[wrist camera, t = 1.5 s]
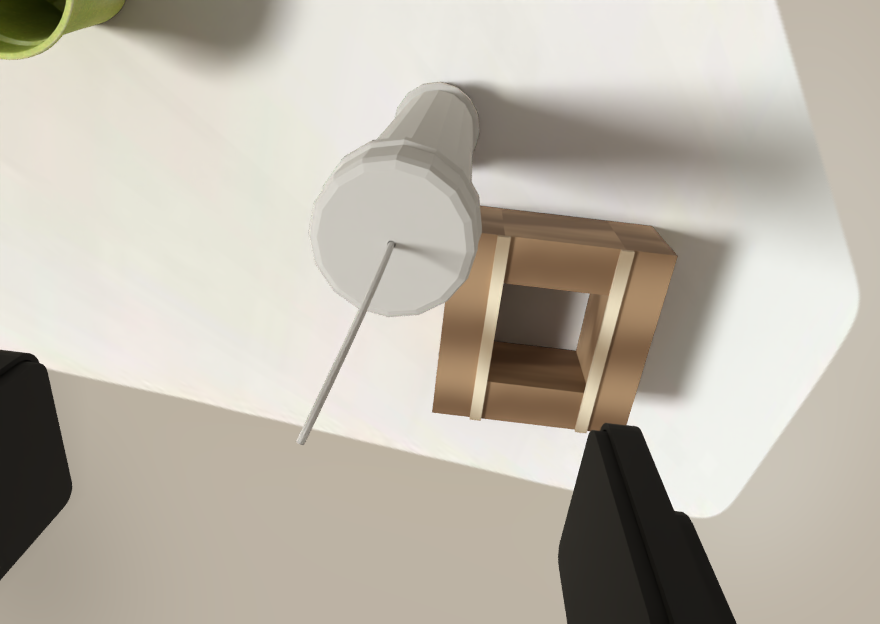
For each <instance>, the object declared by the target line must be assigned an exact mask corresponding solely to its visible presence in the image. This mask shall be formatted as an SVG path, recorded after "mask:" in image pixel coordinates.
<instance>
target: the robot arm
mask: <svg viewBox="0 0 880 624" xmlns="http://www.w3.org/2000/svg"><path fill="white" fill-rule="evenodd" d="M71 491H72V481H71V476H70V472H69V467H68V463H67V458H66V454H65V449H64V445H63V440H62V436H61V431H60V426H59V422H58V418H57V413H56V408H55V404H54V399H53V395H52V391H51V386H50V381H49V377H48V372H47V369H46V367H45V366H44V365H43V364H40V363H39V361H38V359H37V358H36V357H35V356H34V355H32V354H30V353H22V352H14V351H6V350H0V580H1V579H2V578H3V576H4V575H5V574H6V573H7V572H8V571H9V569H10V568H11V567H12V566H13V565H14V564H15V562H17V560H18V559H19V558H20V557H21V556H22V555H23V553H24V552H25V551H26V550H27V549H28V548H29V547H30V545H31V544H32V543H33V542H34V541H35V540H36V538H37V537H38V536H39V535H40V534H41V533H42V532H43V530H44V529H45V528H46V527H47V526H48V525H49V524H50V523H51V521H52V520H53V519H54V518H55V517H56V516H57V515H58V513H59V512H60V511H61V510H62V509H63V508H64V506H65V505H66V504H67V502H68V500H69V498H70V495H71ZM558 563H559V571H560V578H561V585H562V591H563V598H564V604H565V611H566V617H567V624H736V621H735V619H734V617H733V614H732V612H731V610H730V608H729V605H728V603H727V601H726V598H725V596H724V594H723V592H722V589H721V587H720V585H719V582H718V580H717V578H716V576H715V573H714V571H713V569H712V566H711V564H710V562H709V560H708V557H707V555H706V553H705V551H704V548H703V546H702V544H701V541H700V539H699V537H698V535H697V532H696V530H695V528H694V525H693V523H692V522H691V520H690V518H689V517H688V516H687V515H686V514H685V513H684V512H678V511H674V509H673V507H672V504H671V502H670V500H669V497H668V495H667V492H666V490H665V487H664V485H663V483H662V480H661V478H660V475H659V473H658V470H657V468H656V466H655V463H654V461H653V458H652V456H651V453H650V451H649V449H648V446H647V444H646V441H645V439H644V436H643V434H642V432H641V430H640V428H638V427H636V426H628V425H619V424H611V423H604V424H603V425H602V427H601V429H600V431H597V430H591V431H590V433H589V435H588V439H587V442H586V446H585V450H584V454H583V457H582V461H581V465H580V469H579V473H578V476H577V480H576V484H575V488H574V491H573V495H572V499H571V503H570V506H569V510H568V514H567V518H566V521H565V525H564V529H563V533H562V537H561V540H560V545H559V554H558Z"/></svg>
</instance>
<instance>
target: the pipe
mask: <svg viewBox="0 0 880 624" xmlns="http://www.w3.org/2000/svg"><path fill="white" fill-rule="evenodd" d="M479 134H480V130H479V117H478V113H477V111H476V109H475V107H474V105H473V103H472V101H471V99H470V98H469V97H468V96H467V95H466V94H465V93H464V92H463V91H461V90H460V89H459V88H458V87H456V86H453V85H450V84H447V83H444V82H435V83H427V84H422V85H421V86H419V87H417V88H416V89H414V90H412V91H410V92H409V93H408V94H407V95H406V96H405V98H404V99H403V101H402V102H401V103H400V105H399V106H398V107H397V111H396V115H395V119H394V120H393V121H392V122H391V124H390V125H389V126H388V127H387V128H386V129H385V131H384V132H383V133H382V134H381V135H380V136H379V137H378V139H377V140H372V141H370V142H369V143H367V144H365V145H363V146H362V147H360V148H358V149H356V150H355V151H353V152H351V153H350V154H348V155H346V156H345V157H344V158H343V159H342V160H341V161H340V163H339V164H338V165H337V167H336V168H335V170H334V171H333V172H332V174H331V175H330V177H329V178H328V179H327V181H326V182H325V184H324V185H323V189H322V191H321V193H320V194H319V195H318V197H317V198H316V200H315V201H314V206H313V211H312V216H311V221H310V227H309V232H308V233H309V238H310V242H311V247H312V251H313V256H314V260H315V264H316V266H317V267H318V269H319V270H320V272H321V273H322V275H323V276H324V278H325V279H326V281H327V282H328V283H329V285H330V286H331V288H332V289H333V291H334V292H336V293H337V294H339V295H340V296H341V297H343V298H344V299H346V300H347V301H348V302H350V303H351V304H353V305H354V306H355V307H357V308H358V309H359V310H358V312H357V315H356V317H355V319H354V321H353V323H352V325H351V327H350V330H349V332H348V334H347V336H346V338H345V340H344V342H343V345H342V347H341V349H340V351H339V353H338V355H337V357H336V359H335V362H334V364H333V366H332V368H331V370H330V372H329V374H328V376H327V378H326V381H325V383H324V385H323V387H322V389H321V391H320V393H319V395H318V397H317V399H316V401H315V403H314V406H313V408H312V410H311V412H310V414H309V416H308V418H307V420H306V422H305V424H304V426H303V428H302V430H301V432H300V435H299V437H298V439H297V441H296V442H297V443H299V444H301V445H304V444H305V442H306V439H307V438H308V435H309V433H310V431H311V429H312V427H313V425H314V423H315V421H316V419H317V417H318V415H319V413H320V411H321V408H322V406H323V404H324V402H325V400H326V398H327V396H328V394H329V392H330V389H331V387H332V385H333V383H334V381H335V379H336V377H337V375H338V373H339V370H340V368H341V366H342V364H343V362H344V360H345V358H346V355H347V353H348V351H349V349H350V347H351V345H352V342H353V340H354V338H355V336H356V334H357V331H358V329H359V327H360V325H361V323H362V321H363V318H364V316H365V314H366V312H367V311H368V312H372V313H375V314H379V315H382V316H386V317H396V316H410V315H419V314H421V313H423V312H426V311H428V310H430V309H432V308H434V307H436V306H438V305H440V304H442V303H444V302H447V301H448V300H449V299H450V298H451V297H452V296H453V294H454V293H455V292H456V291H457V290H458V289H459V288H460V287H461V286H462V284H463V283H464V282H465V281H466V280H467V279H468V277H469V274H470V271H471V268H472V265H473V262H474V259H475V256H476V253H477V250H478V242H479V239H480V236H481V233H482V224H481V212H480V200H479V195H478V193H477V191H476V189H475V187H474V186H473V184H472V182H471V180H472V153H473V151H474V150H475V147H476V144H477V140H478V137H479Z"/></svg>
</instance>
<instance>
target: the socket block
mask: <svg viewBox="0 0 880 624" xmlns="http://www.w3.org/2000/svg"><path fill="white" fill-rule="evenodd" d="M480 212H481V224H482V233H481V236H480V239H479V242H478V250H477V253H476V256H475V259H474V262H473V265H472V268H471V271H470V274H469V277H468V279H467V280H466V281H465V282H464V283H463V284H462V286H461V287H460V288H459V289H458V290H457V291H456V292H455V293H454V294H453V296H452V297H451V298H450V299H449V300H448V301H447V302H445V308H444V317H443V325H442V334H441V342H440V350H439V359H438V367H437V376H436V384H435V393H434V402H433V410H432V412H433V413H441V414H450V415H458V416H466V417H470V419H471V420H479V421H481V418H483V419H492V420H500V421H508V422H517V423H525V424H533V425H542V426H550V427H559V428H567V429H575V432H579V433H586V432H587V431H591V430H597V431H600V429H601V427H602V425H603V424H604V423H611V424H619V425H626V424H627V421H628V418H629V414H630V411H631V408H632V404H633V401H634V398H635V395H636V391H637V388H638V385H639V381H640V378H641V375H642V372H643V368H644V365H645V362H646V358H647V355H648V352H649V349H650V345H651V342H652V339H653V335H654V332H655V329H656V326H657V322H658V319H659V316H660V312H661V309H662V306H663V303H664V299H665V296H666V293H667V289H668V286H669V283H670V280H671V276H672V273H673V270H674V266H675V263H676V260H677V257H678V256H677V255H676V253H675V252H674V251H673V250H672V249H671V248H670V246H669V245H668V244H667V243H666V242H665V241H664V240H663V238H662V237H661V236H660V235H659V234H658V233H657V231H656V230H655V229H654V228H653V227H652V226H647V225H638V224H630V223H621V222H613V221H604V220H596V219H587V218H579V217H570V216H562V215H553V214H545V213H536V212H528V211H519V210H511V209H502V208H493V207H485V206H480ZM503 283H506V284H514V285H522V286H531V287H539V288H548V289H556V290H565V291H573V292H582V293H590V295H589V299H588V303H587V308H586V312H585V316H584V320H583V324H582V328H581V333H580V337H579V341H578V345H577V349H576V351H572V350H564V349H555V348H547V347H538V346H530V345H522V344H513V343H505V342H496V341H494V337H495V331H496V325H497V319H498V313H499V307H500V301H501V295H502V289H503Z"/></svg>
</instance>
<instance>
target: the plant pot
mask: <svg viewBox="0 0 880 624" xmlns="http://www.w3.org/2000/svg"><path fill="white" fill-rule="evenodd" d="M124 3H125V0H0V59H6V60H18V59H24V58H29V57H32V56H35V55H38V54H41V53H43V52H44V51H46V50H48V49H49V48H51V47H52V46H53V45H54V44H55V43H56V42H57V41H58V40H59V39H60V38H61V37H62V35H64V34H67V33H70V32H73V31H76V30H79V29H83V28H86V27H90V26H93V25H97V24H100V23H103V22H106V21H108V20H109V19H111V18H112V17H113V16H115V15H116V14H117V13H118V12H119V11H120V10H121V8H122V7H123V5H124Z"/></svg>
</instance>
